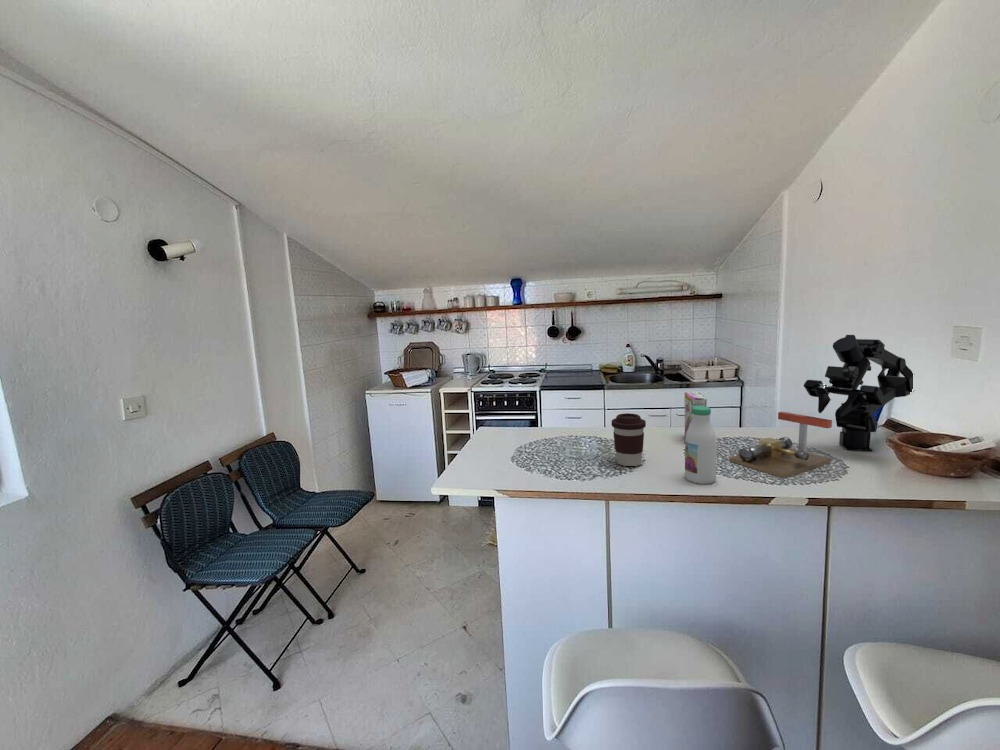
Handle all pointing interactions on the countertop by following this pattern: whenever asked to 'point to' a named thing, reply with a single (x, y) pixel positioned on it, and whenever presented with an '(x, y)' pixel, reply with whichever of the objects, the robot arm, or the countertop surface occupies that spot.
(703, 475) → the milk bottle
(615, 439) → the coffee cup
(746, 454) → the valve on board
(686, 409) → the candy bar box
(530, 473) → the countertop surface
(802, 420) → the valve lever
